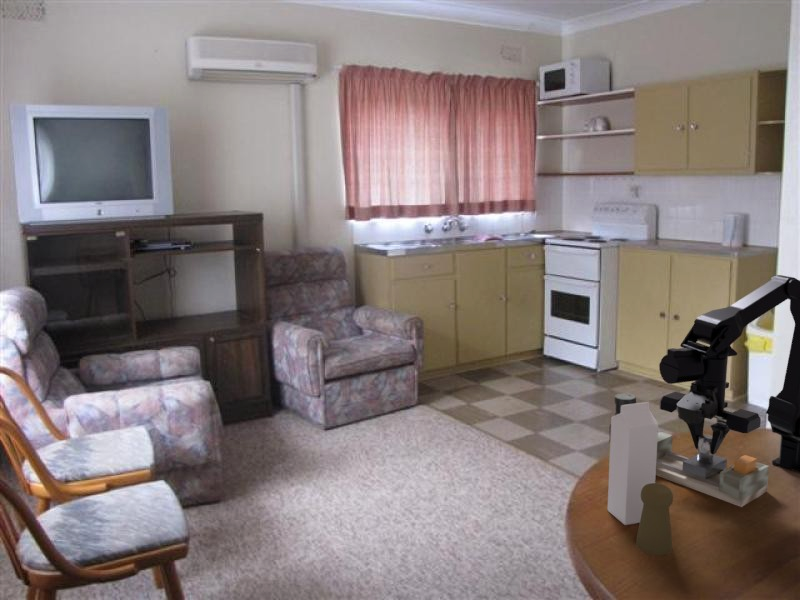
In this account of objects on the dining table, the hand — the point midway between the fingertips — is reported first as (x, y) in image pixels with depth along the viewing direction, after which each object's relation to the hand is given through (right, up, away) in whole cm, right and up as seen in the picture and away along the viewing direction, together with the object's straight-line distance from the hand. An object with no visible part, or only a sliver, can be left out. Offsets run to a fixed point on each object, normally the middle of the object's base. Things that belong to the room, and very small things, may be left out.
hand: (705, 451), depth 149 cm
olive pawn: (-19, -12, -23) cm, 32 cm away
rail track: (-1, -6, +2) cm, 7 cm away
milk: (-19, -10, -12) cm, 25 cm away
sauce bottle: (-17, -8, -2) cm, 19 cm away
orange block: (+5, -3, -6) cm, 9 cm away
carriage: (0, -4, +1) cm, 4 cm away
